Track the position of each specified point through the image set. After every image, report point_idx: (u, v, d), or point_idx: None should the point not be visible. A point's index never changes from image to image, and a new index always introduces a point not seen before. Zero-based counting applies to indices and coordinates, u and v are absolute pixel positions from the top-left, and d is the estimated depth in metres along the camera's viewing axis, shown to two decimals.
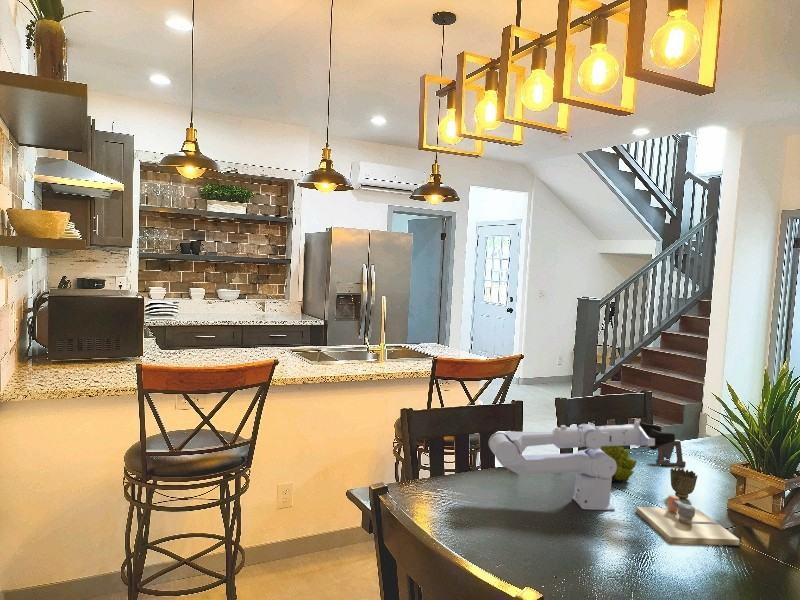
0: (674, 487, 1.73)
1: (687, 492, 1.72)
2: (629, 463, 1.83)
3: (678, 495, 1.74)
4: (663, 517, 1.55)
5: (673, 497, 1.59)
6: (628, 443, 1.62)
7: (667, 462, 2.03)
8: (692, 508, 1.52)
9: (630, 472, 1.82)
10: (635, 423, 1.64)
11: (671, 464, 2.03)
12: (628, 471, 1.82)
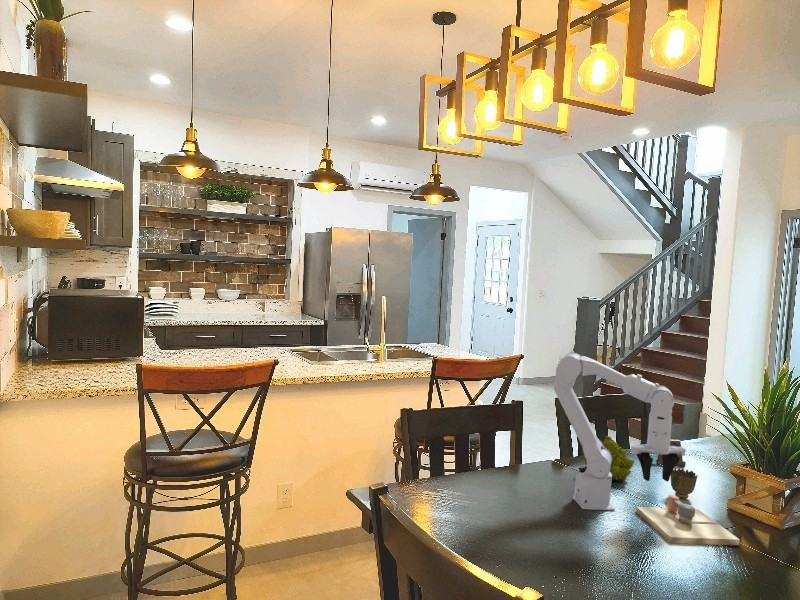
0: (674, 487, 1.73)
1: (687, 492, 1.72)
2: (627, 463, 1.83)
3: (678, 495, 1.74)
4: (663, 517, 1.55)
5: (673, 497, 1.59)
6: None
7: None
8: (692, 508, 1.52)
9: (628, 472, 1.82)
10: (665, 450, 1.55)
11: None
12: (626, 471, 1.82)
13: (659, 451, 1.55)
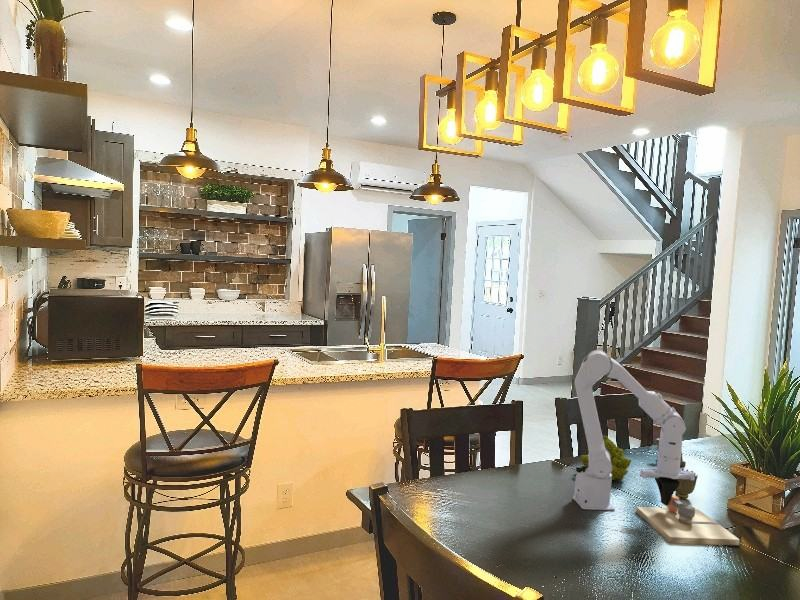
0: None
1: (687, 492, 1.72)
2: (624, 462, 1.83)
3: (678, 495, 1.74)
4: (663, 517, 1.55)
5: (673, 497, 1.59)
6: None
7: None
8: (692, 508, 1.52)
9: (625, 471, 1.82)
10: (674, 475, 1.55)
11: None
12: (623, 470, 1.82)
13: (669, 476, 1.56)
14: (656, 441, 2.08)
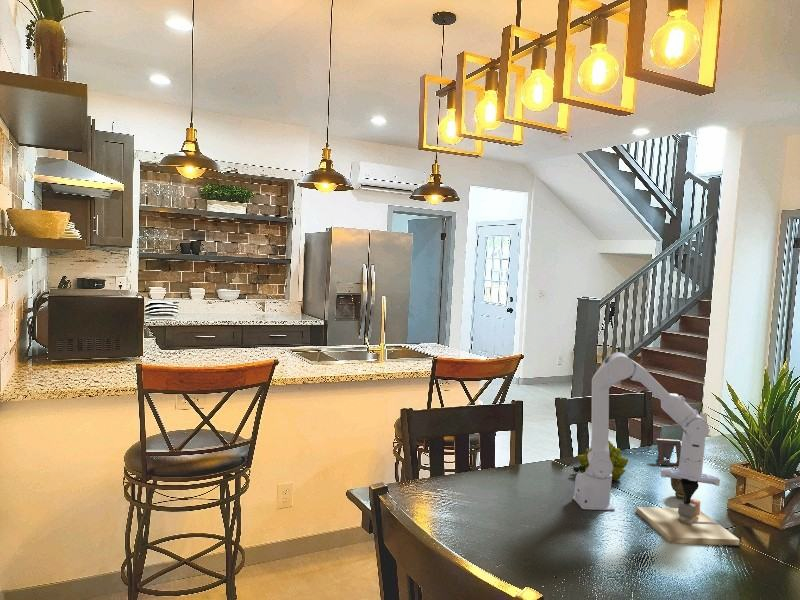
0: (674, 487, 1.73)
1: None
2: (621, 462, 1.83)
3: (678, 495, 1.74)
4: (663, 517, 1.55)
5: (693, 501, 1.57)
6: None
7: (667, 462, 2.03)
8: (689, 509, 1.51)
9: (622, 471, 1.83)
10: (693, 477, 1.55)
11: (671, 464, 2.03)
12: (620, 470, 1.83)
13: (687, 477, 1.56)
14: (656, 441, 2.08)
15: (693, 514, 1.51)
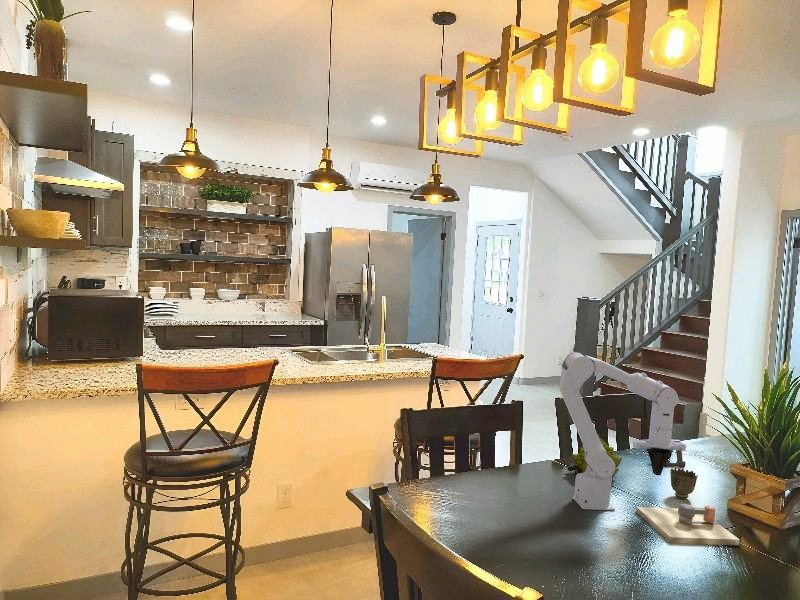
0: (674, 487, 1.73)
1: (687, 492, 1.72)
2: (615, 461, 1.84)
3: (678, 495, 1.74)
4: (663, 517, 1.55)
5: (708, 507, 1.53)
6: None
7: (667, 462, 2.03)
8: (686, 508, 1.52)
9: (616, 470, 1.83)
10: (666, 445, 1.59)
11: (671, 464, 2.03)
12: None
13: (660, 446, 1.60)
14: None
15: (689, 514, 1.51)
